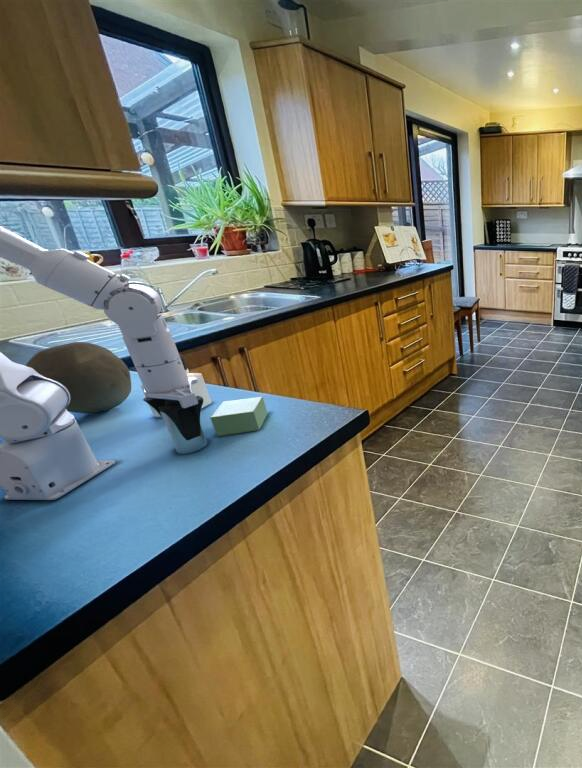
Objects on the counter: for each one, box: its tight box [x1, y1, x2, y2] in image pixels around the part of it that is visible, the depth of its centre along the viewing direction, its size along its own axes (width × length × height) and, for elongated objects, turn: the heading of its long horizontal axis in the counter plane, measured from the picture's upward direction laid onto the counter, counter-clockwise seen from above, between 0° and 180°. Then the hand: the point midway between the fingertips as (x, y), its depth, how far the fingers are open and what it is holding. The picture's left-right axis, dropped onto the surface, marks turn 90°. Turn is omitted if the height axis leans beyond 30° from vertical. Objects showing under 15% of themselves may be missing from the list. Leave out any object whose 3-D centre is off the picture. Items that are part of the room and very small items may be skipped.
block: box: [210, 396, 269, 437], centre depth 77 cm, size 7×7×4 cm
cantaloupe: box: [25, 341, 132, 414], centre depth 81 cm, size 14×14×15 cm
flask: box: [160, 399, 208, 455], centre depth 69 cm, size 4×4×10 cm
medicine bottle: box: [140, 353, 212, 418], centre depth 82 cm, size 7×7×12 cm
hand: (187, 433), depth 70 cm, fingers closed on flask, 4 cm apart
